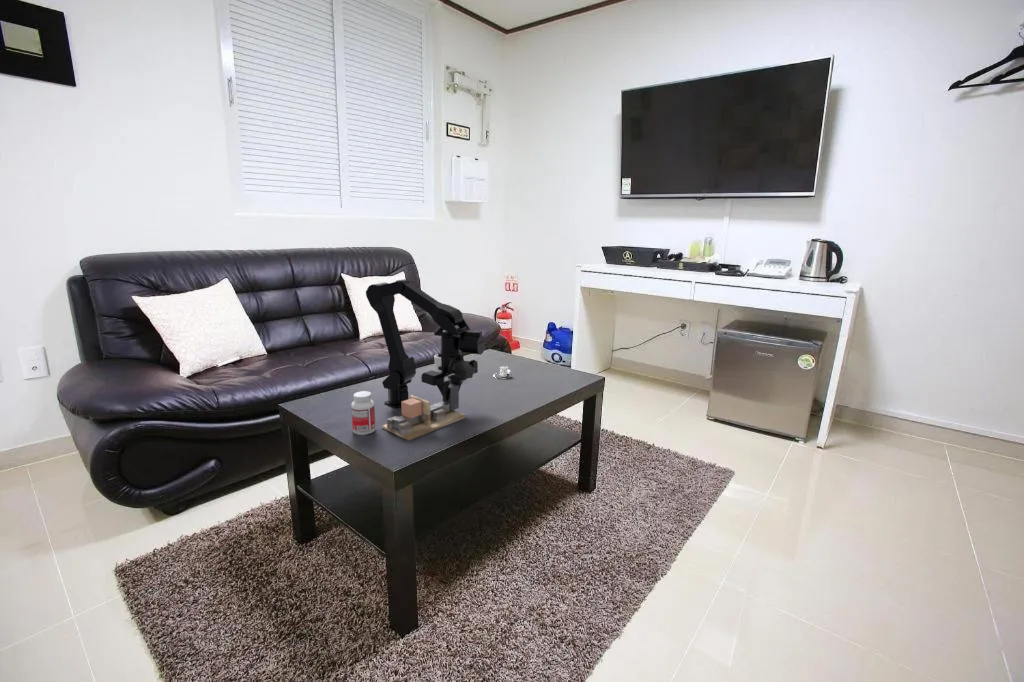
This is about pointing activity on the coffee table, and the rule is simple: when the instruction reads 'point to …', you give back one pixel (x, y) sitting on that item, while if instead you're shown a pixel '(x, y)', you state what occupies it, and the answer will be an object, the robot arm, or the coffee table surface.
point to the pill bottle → (363, 413)
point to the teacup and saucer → (503, 371)
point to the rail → (426, 426)
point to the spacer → (411, 408)
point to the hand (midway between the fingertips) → (450, 399)
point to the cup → (437, 362)
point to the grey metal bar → (434, 407)
